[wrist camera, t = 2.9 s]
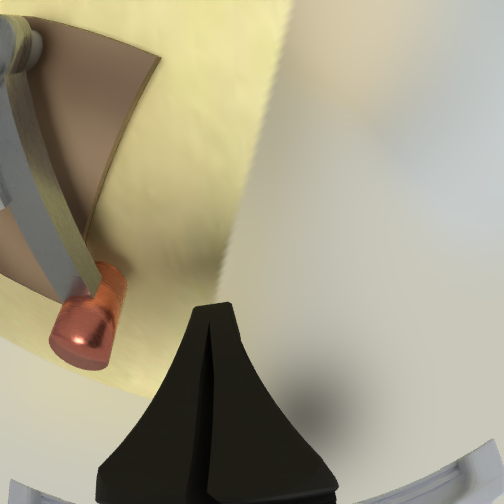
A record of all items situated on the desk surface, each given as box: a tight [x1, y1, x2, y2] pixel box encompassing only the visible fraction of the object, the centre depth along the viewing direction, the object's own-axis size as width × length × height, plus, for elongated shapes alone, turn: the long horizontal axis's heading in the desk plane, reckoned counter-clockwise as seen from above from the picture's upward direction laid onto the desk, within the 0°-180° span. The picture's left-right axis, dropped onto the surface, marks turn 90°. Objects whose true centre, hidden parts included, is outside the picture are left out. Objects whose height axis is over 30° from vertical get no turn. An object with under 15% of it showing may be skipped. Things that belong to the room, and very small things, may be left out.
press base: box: [0, 16, 161, 305], centre depth 9 cm, size 14×7×5 cm, turn 148°
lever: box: [0, 14, 127, 371], centre depth 8 cm, size 15×4×4 cm, turn 8°
